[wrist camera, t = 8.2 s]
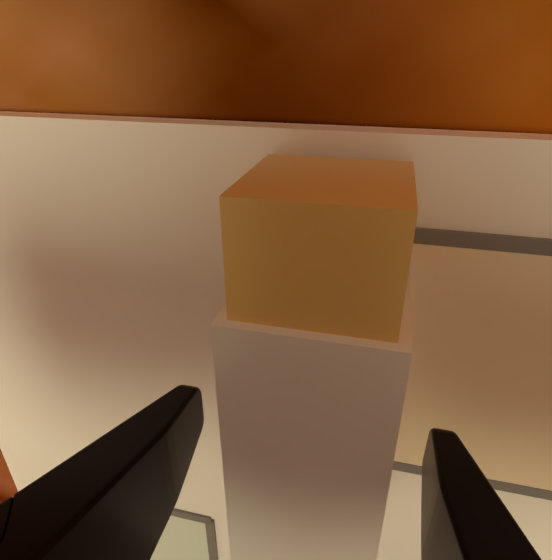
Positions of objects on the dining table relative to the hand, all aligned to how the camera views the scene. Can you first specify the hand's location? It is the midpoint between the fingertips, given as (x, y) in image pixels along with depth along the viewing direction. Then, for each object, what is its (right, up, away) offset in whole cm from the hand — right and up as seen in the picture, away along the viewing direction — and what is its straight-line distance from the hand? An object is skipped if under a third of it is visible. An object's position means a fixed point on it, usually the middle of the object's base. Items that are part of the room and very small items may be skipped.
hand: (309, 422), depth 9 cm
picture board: (-1, -3, +5) cm, 6 cm away
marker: (+1, +1, +2) cm, 2 cm away
